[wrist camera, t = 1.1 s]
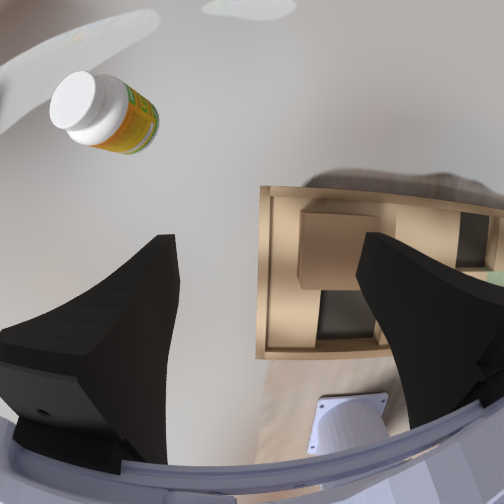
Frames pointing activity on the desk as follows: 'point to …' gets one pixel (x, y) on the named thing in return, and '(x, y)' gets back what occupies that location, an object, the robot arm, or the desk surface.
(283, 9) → the desk surface
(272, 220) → the tray
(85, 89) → the supplement bottle
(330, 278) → the walnut block
